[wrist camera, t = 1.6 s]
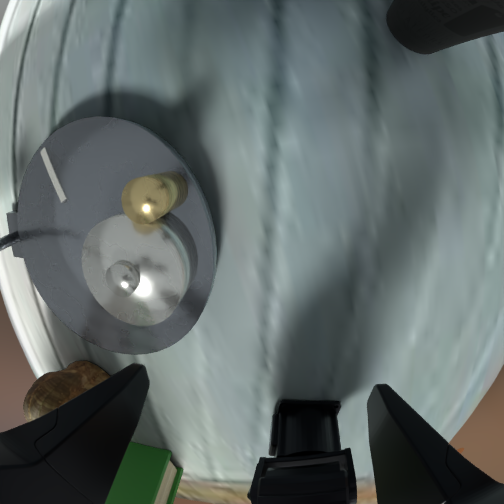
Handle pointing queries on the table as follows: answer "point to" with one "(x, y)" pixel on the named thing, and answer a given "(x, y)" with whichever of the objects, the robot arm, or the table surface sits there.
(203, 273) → the platter
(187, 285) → the cover
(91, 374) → the shell
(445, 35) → the drinking cup
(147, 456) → the hardback book
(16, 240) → the dial stand
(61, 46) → the table surface
